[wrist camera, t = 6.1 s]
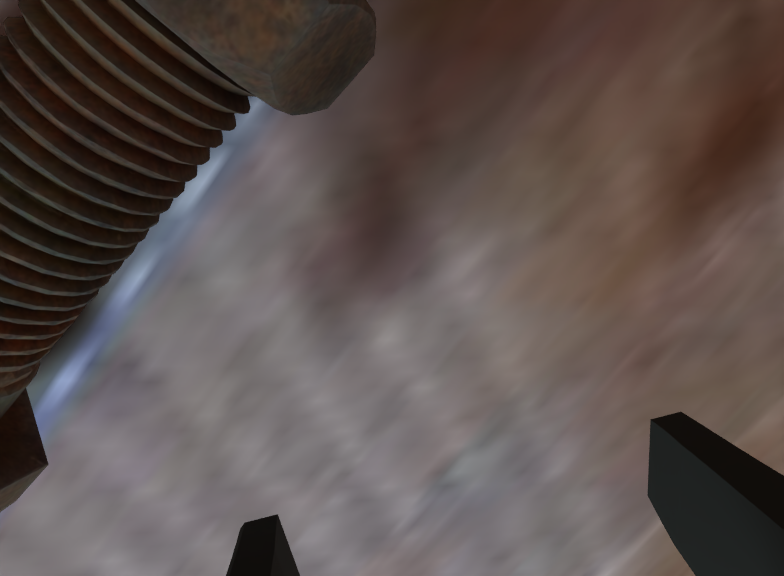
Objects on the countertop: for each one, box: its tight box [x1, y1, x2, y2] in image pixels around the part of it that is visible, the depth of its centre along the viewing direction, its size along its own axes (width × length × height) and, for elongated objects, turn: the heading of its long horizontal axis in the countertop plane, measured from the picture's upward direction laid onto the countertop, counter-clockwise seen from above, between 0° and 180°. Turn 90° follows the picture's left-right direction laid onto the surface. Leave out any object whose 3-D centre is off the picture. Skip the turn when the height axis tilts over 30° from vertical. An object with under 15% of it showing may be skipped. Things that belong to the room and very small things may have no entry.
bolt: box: [0, 0, 376, 512], centre depth 10 cm, size 6×5×15 cm
